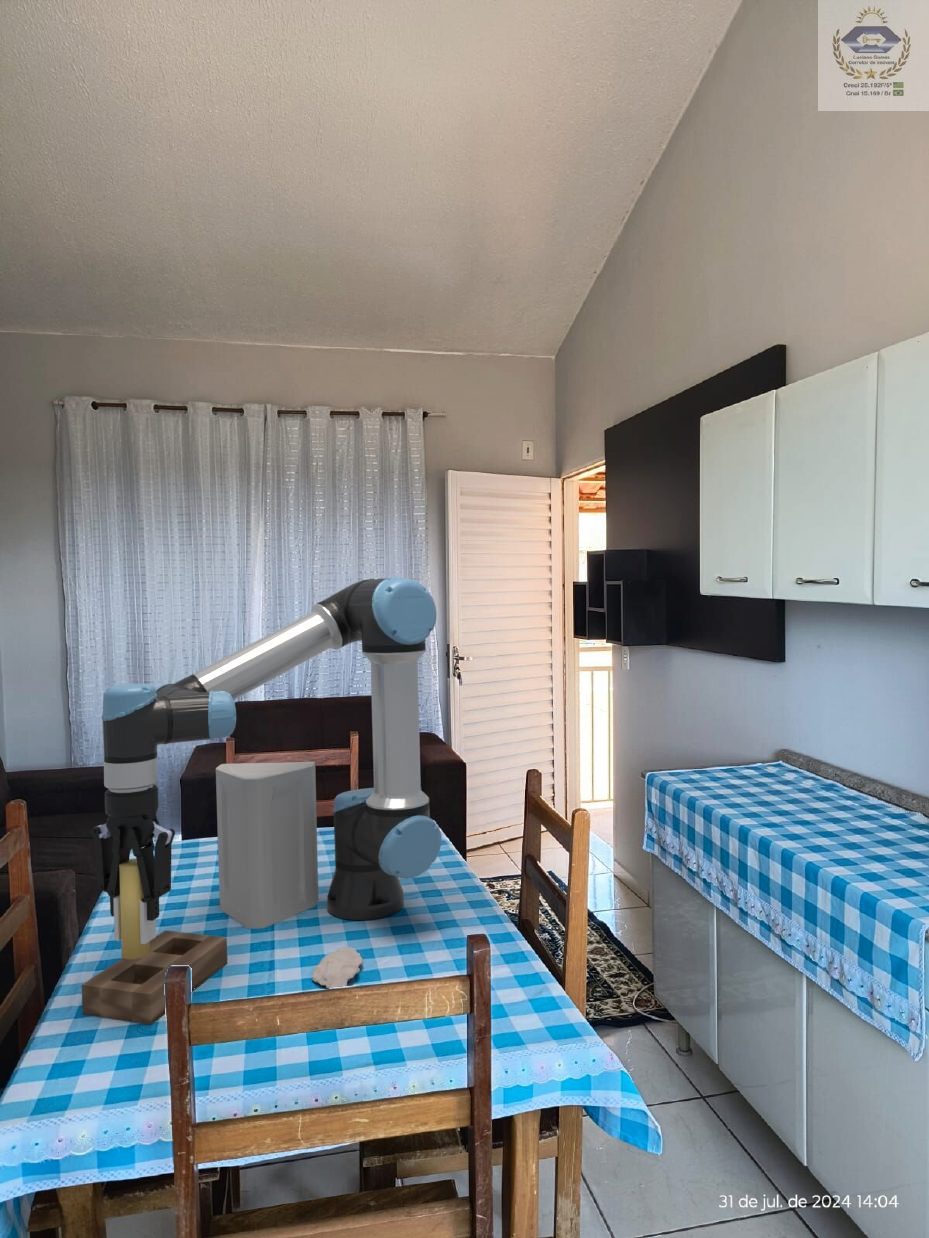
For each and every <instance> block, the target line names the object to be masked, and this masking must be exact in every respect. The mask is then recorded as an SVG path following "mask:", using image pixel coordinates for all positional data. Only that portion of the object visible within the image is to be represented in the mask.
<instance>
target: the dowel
mask: <svg viewBox="0 0 929 1238" xmlns="http://www.w3.org/2000/svg"><path fill="white" fill-rule="evenodd" d="M119 872H120V909H121V940H120V941H121V945H120V946H121V959H122V958H124V959H138V958H142V957H144V956H146V955H148V954H149V953H150V941H149V942H147V943H146V944H141V942H140V903H139V901H140V900H141V899H142V898H144V894H143V889H142V884H141V879H140V874H139V869H138V864H137V859H136V858H132V859H131V858H130V859H129V860H127V861H125V862H123V863H121V864H119Z"/></svg>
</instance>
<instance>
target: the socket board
mask: <svg viewBox="0 0 929 1238" xmlns="http://www.w3.org/2000/svg"><path fill="white" fill-rule="evenodd" d="M227 940H228V939H227V936H217V935H210V934H203V933H202V934H201V933H194V932H192V933H191V932H183V931H173V930H164V931H162V932H161V933H160V934H158V935H156V937H155V938H154V939H152V940H150V953H149V954H148V955H146V956H144V957H142V958H138V959H124V958H122V957H121V959H119V960H117V961H116V962H114V963H113V964H111V965H110V966H108V967H106V968H105V969H104V970H102V971H101V972H99V973H97V974H96V975H94V976H93V977H92V978H90V979H88V980H87V981H85V982H84V983H82V984H81V1003H82V1004H81V1005H82V1006H81V1007H82V1016H83V1015H85V1016H90V1017H97V1018H104V1019H111V1020H118V1021H123V1022H124V1021H125V1022H129V1023H130V1022H131V1023H138V1024H145V1025H150V1026H151V1025H153V1024H154V1023H155V1022H157V1021H158V1020H159V1019H160V1018H162V1017H163V1016H164V1015H166V1013H165V995H164V984H165V973H166V972H167V969H168V967H170V966H171V965H189V966H190V967H191V968H192V992H191V993H193V992H194V991H195V990H196V989H198V988H199V987H201V985H202V984H204V983H205V982H206V981H208V980H209V979H210V978H211V977H213V976H214V975H215V974H217V973H218V971H220V970H221V969H223V968H224V967H225V966H226V965H228V941H227ZM197 987H198V988H197ZM194 988H195V990H194Z"/></svg>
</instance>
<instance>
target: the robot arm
mask: <svg viewBox="0 0 929 1238" xmlns="http://www.w3.org/2000/svg"><path fill="white" fill-rule="evenodd" d="M436 608H437V606H436V604H435V601H434V598H433V596H432V595H431V593H430V591H429V590H428V589H426V587H425V586H424V585H422V584H421V583H420V582H418V581H416V580H413V579H410V578H403V577H396V576H395V577H389V578H388V577H387V578H375V579H374V578H369V579H362V580H360V581H357V582H355V583H352V584H350V585H348V586H346V587H345V588H343V589H340V590H339V591H337V592H335V593H334V594H332V595H330V596H328V597H327V598H325V599H323V600H321V601H319V602H318V603H315V604H313V606H312V607H311V610H310V613H308V614H305V615H304V616H301V617H300V618H298V619H296V620H295V621H292V622H291V623H289V624H286V625H285V626H283V627H280V628H279V629H277V630H275V631H273V632H271V633H269V634H268V635H265V636H263V637H261V638H259V639H258V640H256V641H253V642H251V643H249V644H248V645H246V646H244V647H242V648H240V649H238V650H236V651H234V652H233V653H231V654H229V655H227V656H225V657H222V658H221V659H219V660H217V661H215V662H213V663H211V664H209V665H207V666H206V667H204V668H201V669H199V670H198V671H195V672H194V673H192V674H191V675H189V676H186V677H184V678H182V679H180V680H178V681H176V682H175V683H166V684H162V685H161V684H160V685H159V686H158V687H155V686H154V685H153V684H151V683H135V684H134V683H126V684H116V685H112V686H110V687H107V688H106V689H105V691H104V692H103V695H102V696H103V697H102V714H101V715H102V716H101V719H102V736H103V739H102V740H103V743H102V744H103V785H104V787H105V788H106V789H107V790H106V791H104V813H105V814H106V815H107V818H106V822H105V823H102V824H100V825H97V826H94V827H92V828H91V829H90V834H91V836H92V839H93V842H94V850H95V851H94V853H95V867H96V869H95V870H96V883H97V885H96V886H97V890H98V892H100V893H101V892H104V893H107V895H108V897H109V911H110V912H109V913H110V916H111V917H113V926H114V927H113V932H114V935H113V937H114V941H117V942H120V941H121V909H120V872H119V864H121V863H123V862H125V861H127V860H130V857H131V851H132V855H133V857H135V859H137V864H138V869H139V874H140V879H141V884H142V889H143V894H144V898H142V899H141V900H140V901H139V903H140V942H141V944H146V943H147V942H149V941H150V940H152V939H154V938H155V937H156V936H157V919H158V918H160V898H161V897H163V896H165V895H166V894H167V893H170V891H172V844H173V841H174V838H175V834H176V831H175V829H174V828H169V829H166V828H164V827H163V826H161V825H160V822H159V820H158V817H157V812H158V809H159V787H158V786H157V785H156V784H157V782H158V746H159V745H168V744H176V743H187V742H196V741H207V740H210V741H214V740H215V739H220V738H226V737H229V736H230V735H232V734H233V732H234V731H235V728H236V726H237V725H236V724H237V709H236V704H235V700H237V699H239V698H240V697H242V696H244V695H246V694H248V693H250V692H252V691H254V690H255V689H257V688H259V687H261V686H262V685H264V684H266V683H268V682H270V681H272V680H273V679H276V678H277V677H279V676H281V675H283V674H285V673H286V672H288V671H290V670H292V669H293V668H297V666H299V665H301V664H303V663H305V662H306V661H308V660H310V659H313V658H314V657H316V656H317V655H319V654H321V653H323V652H325V651H327V650H328V649H333V650H339V649H342V648H343V647H345V646H347V645H349V644H353V643H356V642H361V653H362V655H363V656H364V657H366V658H367V660H369V662H370V686H371V692H370V693H371V724H372V726H371V727H372V761H373V763H372V764H373V787H369V788H368V787H367V788H360V789H353V790H348V791H344V792H341V793H339V794H337V795H336V797H334V799H333V811H332V815H333V832H334V833H333V834H334V865H335V866H334V873H333V876H332V879H331V883H330V885H329V889H328V892H327V896H326V906H327V907H326V908H327V909H326V910H327V911H328V913H330V914H331V915H332V916H334V917H336V918H340V919H343V920H349V921H350V920H352V921H366V920H367V921H368V920H374V919H375V920H376V919H380V918H384V917H388V916H391V915H393V914H396V913H397V912H399V911H400V910H401V909H402V908H403V906H404V904H405V901H404V898H405V897H404V895H405V894H404V889H403V887H402V883H401V881H400V879H404V880H405V879H413V878H415V877H419V876H420V875H422V874H424V873H425V872H427V871H428V870H429V869H430V868H431V865H432V864H433V863H435V862H436V860H437V858H438V856H439V854H440V852H441V846H442V833H441V829H440V828H439V826H438V824H437V823H436V822H435V820H434V819H432V818H431V817H430V797H429V796H428V795H427V794H426V793H425V792H424V791H422V785H421V784H422V783H421V752H420V751H421V747H420V741H421V740H420V709H419V708H420V706H419V705H420V703H419V701H420V700H419V665H418V662H419V659H421V657H422V656H423V655H425V653H426V651H427V649H426V643H427V642H426V639H427V638H428V637H429V636H430V635H431V632H432V631H433V630H434V628H435V626H436V622H437V609H436Z"/></svg>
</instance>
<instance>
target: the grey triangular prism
mask: <svg viewBox="0 0 929 1238" xmlns="http://www.w3.org/2000/svg"><path fill="white" fill-rule="evenodd" d="M316 779H317V777H316V762H315V761H301V762H300V761H297V762H296V761H295V762H294V761H291V762H284V761H283V762H247V763H246V762H245V763H243V762H242V763H221V764H220V765H218V766H217V767H215V786H216V789H215V790H216V820H217V822H216V823H217V847H218V848H217V854H218V855H217V856H218V884H219V885H218V886H219V887H218V889H219V895H218V896H219V910H220V911H222V912H223V913H225V914H226V915H228V916H229V917H230V918H232V919H233V920H235V921H236V922H237V923H239V924H240V925H242V926H243V927H244V928H246V929H250V930H254V929H257V930H261V929H265V928H268V927H270V926H273V925H275V924H277V923H279V922H282V921H284V920H286V919H289V918H291V917H294V916H296V915H298V914H301V913H303V912H305V911H307V910H310V909H312V908H314V907H316V906H317V904H318V902H319V870H318V869H319V865H318V864H319V863H318V861H319V860H318V857H319V856H318V826H317V824H318V822H317V821H318V820H317V788H316V787H317V785H316V782H317V781H316Z"/></svg>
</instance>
